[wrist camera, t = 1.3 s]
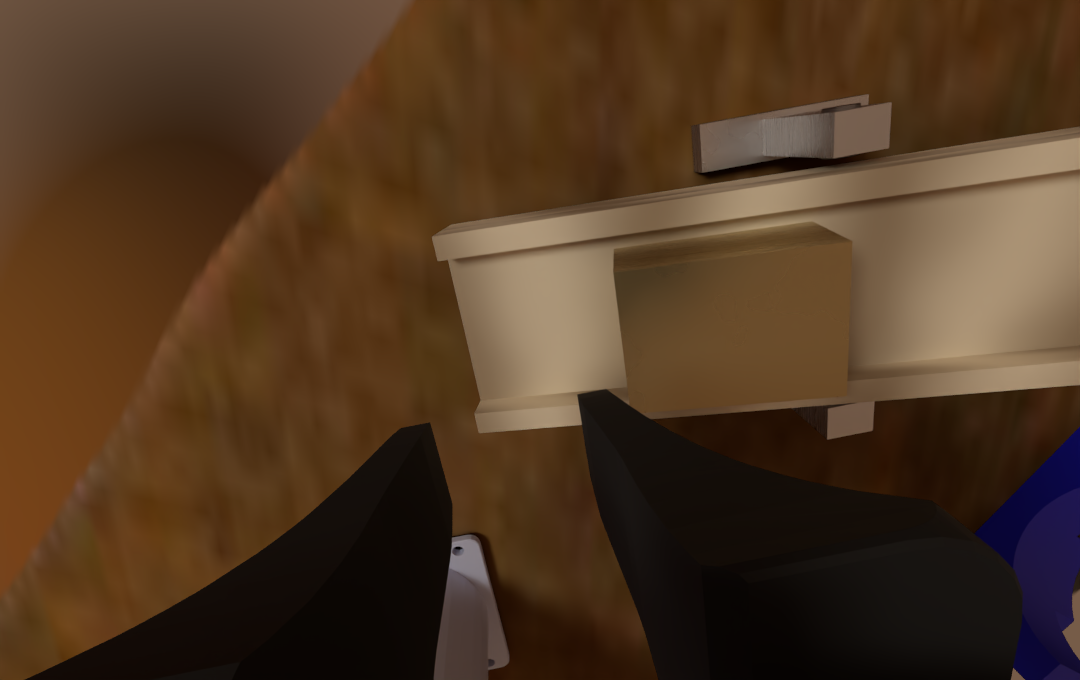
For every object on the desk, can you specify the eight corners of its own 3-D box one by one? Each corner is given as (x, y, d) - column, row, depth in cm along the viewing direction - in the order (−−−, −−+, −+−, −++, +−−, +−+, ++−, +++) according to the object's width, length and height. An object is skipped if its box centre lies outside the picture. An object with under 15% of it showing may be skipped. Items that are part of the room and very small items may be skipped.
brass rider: (628, 371, 19) (630, 414, 16) (613, 248, 17) (613, 272, 15) (810, 353, 18) (846, 396, 15) (812, 221, 16) (852, 240, 13)
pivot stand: (708, 393, 23) (764, 456, 18) (691, 125, 19) (755, 119, 14) (844, 367, 23) (934, 423, 18) (854, 96, 19) (969, 80, 15)
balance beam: (492, 403, 21) (474, 442, 19) (451, 224, 19) (425, 240, 16) (1253, 335, 17) (1367, 372, 14) (1332, 87, 14) (1488, 79, 12)
